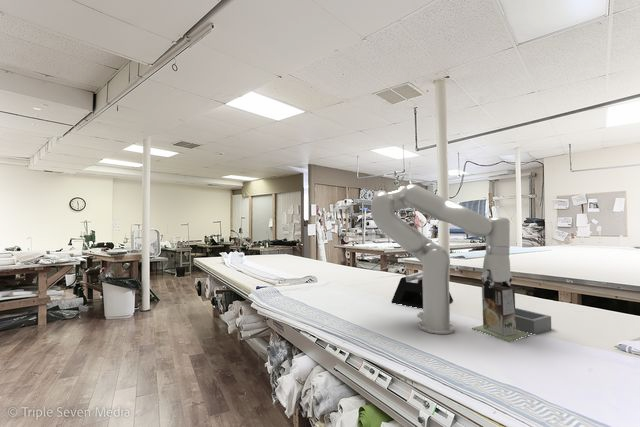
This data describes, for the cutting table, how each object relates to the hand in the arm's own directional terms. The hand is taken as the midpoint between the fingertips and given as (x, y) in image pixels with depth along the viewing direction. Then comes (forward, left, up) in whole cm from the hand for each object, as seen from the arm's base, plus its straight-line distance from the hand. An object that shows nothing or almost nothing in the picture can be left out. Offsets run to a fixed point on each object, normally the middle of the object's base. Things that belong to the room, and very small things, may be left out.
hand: (497, 297), depth 112 cm
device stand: (-44, +8, -13) cm, 46 cm away
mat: (0, +1, -13) cm, 13 cm away
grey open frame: (0, +15, -13) cm, 19 cm away
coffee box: (0, 0, -12) cm, 12 cm away
